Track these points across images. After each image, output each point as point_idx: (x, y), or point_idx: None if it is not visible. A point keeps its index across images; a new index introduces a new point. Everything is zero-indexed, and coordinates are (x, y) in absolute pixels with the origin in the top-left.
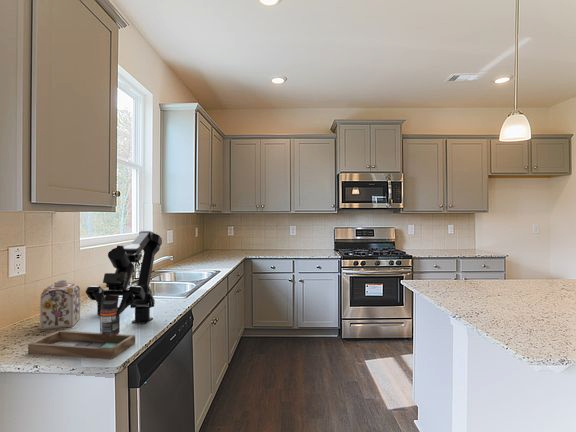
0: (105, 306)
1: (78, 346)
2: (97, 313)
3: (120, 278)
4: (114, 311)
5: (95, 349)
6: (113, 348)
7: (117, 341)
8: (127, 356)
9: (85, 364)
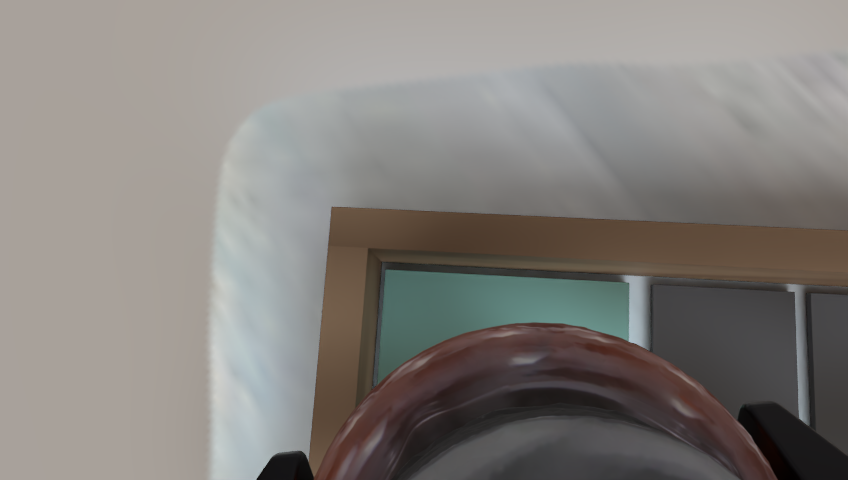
0: (593, 412)
1: (758, 253)
2: (790, 412)
3: None
4: (332, 443)
5: (521, 216)
6: (334, 241)
7: None
8: (239, 297)
9: (518, 106)
